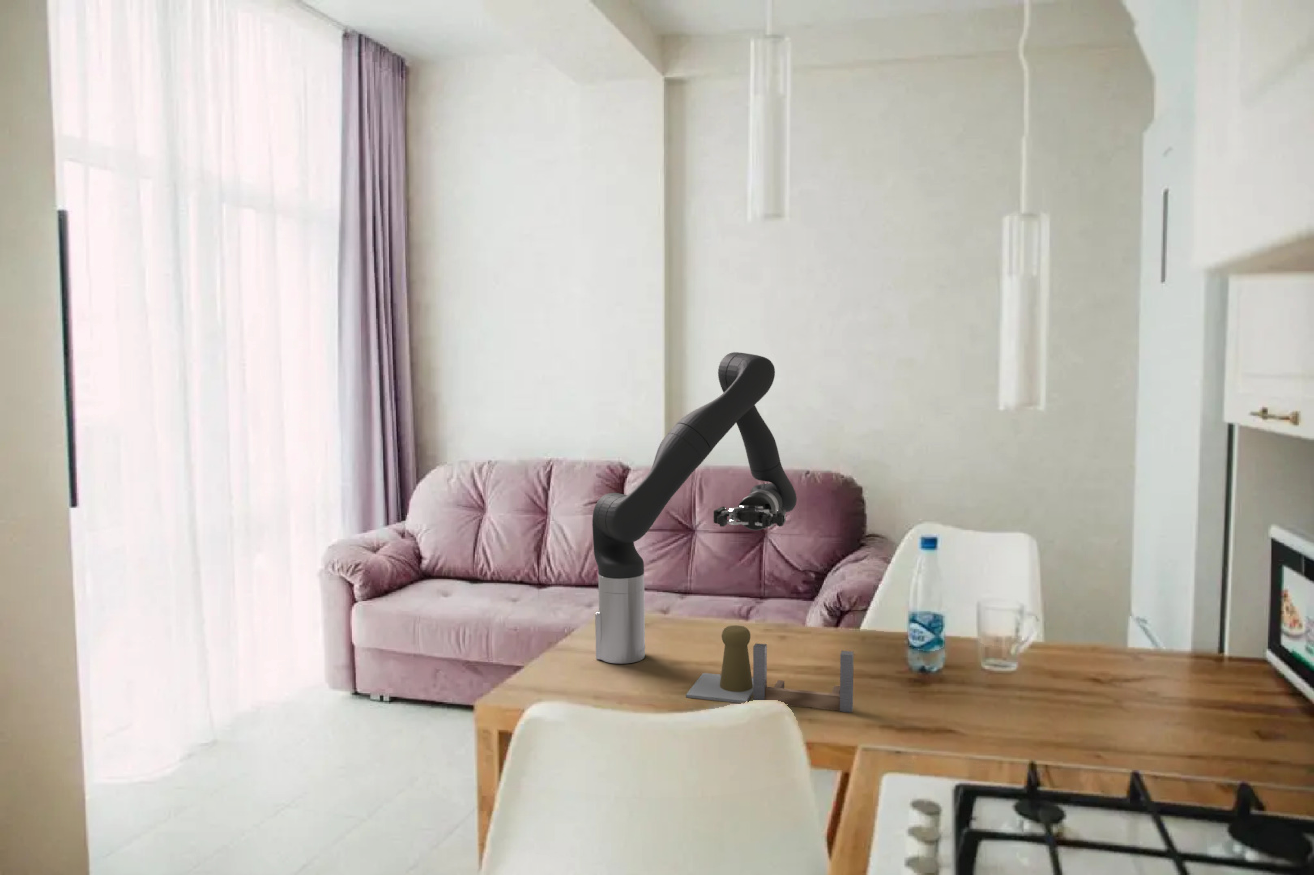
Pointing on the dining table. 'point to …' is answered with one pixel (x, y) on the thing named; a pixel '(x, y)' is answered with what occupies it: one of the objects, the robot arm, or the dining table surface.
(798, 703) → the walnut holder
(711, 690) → the grey rubber mat
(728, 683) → the cork
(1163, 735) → the dining table surface
